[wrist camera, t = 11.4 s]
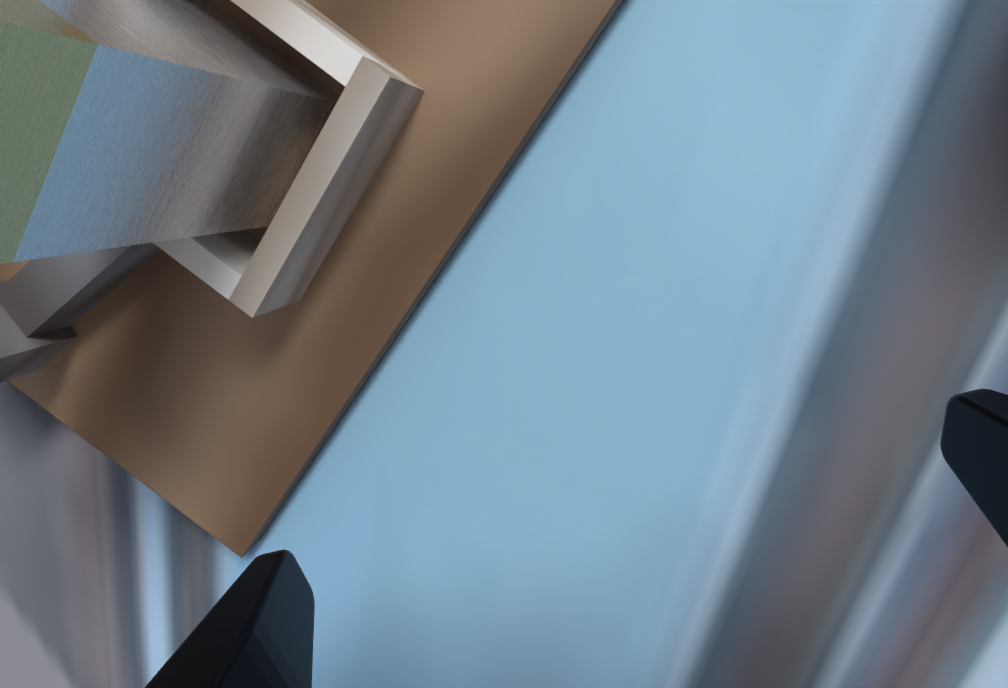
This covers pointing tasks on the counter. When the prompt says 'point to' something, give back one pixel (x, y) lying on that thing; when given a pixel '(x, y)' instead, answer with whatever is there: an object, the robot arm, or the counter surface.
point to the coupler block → (142, 125)
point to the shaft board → (294, 253)
